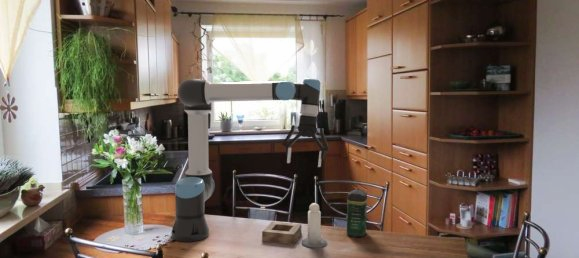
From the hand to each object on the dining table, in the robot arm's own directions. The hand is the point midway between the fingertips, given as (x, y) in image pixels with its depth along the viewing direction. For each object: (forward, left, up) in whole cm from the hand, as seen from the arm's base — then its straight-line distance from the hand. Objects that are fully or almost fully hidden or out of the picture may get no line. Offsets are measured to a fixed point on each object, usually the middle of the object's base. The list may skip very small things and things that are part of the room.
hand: (303, 164), depth 177 cm
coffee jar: (+23, +2, -29) cm, 37 cm away
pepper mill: (+8, -14, -28) cm, 32 cm away
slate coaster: (+8, -14, -29) cm, 33 cm away
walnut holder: (-6, -11, -29) cm, 31 cm away
